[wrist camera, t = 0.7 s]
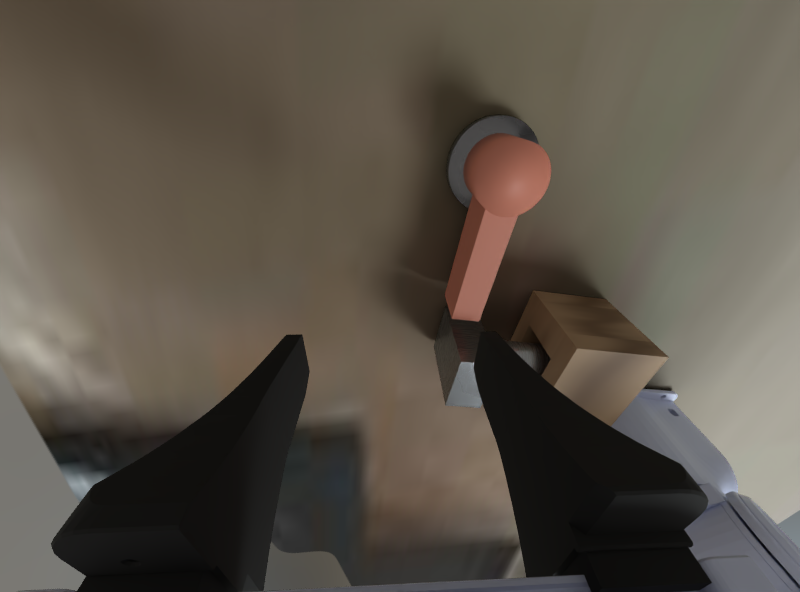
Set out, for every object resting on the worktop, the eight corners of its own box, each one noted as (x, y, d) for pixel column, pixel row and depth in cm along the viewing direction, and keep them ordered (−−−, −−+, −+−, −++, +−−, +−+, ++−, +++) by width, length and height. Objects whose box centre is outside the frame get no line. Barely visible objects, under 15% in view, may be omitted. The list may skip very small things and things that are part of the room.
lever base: (548, 123, 17) (555, 124, 17) (515, 214, 20) (520, 218, 20) (459, 106, 17) (462, 107, 16) (437, 202, 20) (439, 206, 19)
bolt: (584, 321, 25) (633, 376, 20) (562, 358, 27) (602, 416, 22) (445, 306, 23) (461, 361, 19) (433, 346, 26) (445, 405, 21)
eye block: (605, 299, 24) (668, 357, 19) (561, 371, 28) (602, 436, 23) (533, 290, 23) (577, 348, 18) (498, 366, 28) (526, 431, 22)
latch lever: (537, 139, 17) (563, 146, 14) (480, 298, 22) (493, 323, 20) (473, 127, 16) (489, 133, 14) (432, 292, 22) (438, 318, 19)
